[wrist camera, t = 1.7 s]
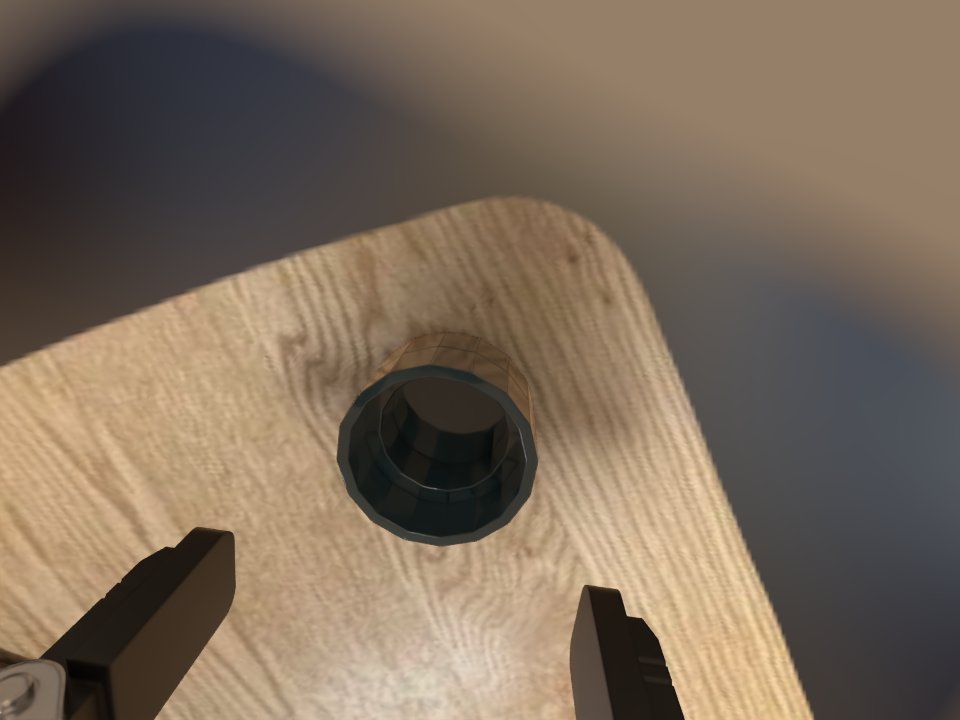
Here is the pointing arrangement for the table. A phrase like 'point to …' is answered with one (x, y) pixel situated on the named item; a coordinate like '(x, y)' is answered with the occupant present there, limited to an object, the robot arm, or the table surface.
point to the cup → (441, 441)
